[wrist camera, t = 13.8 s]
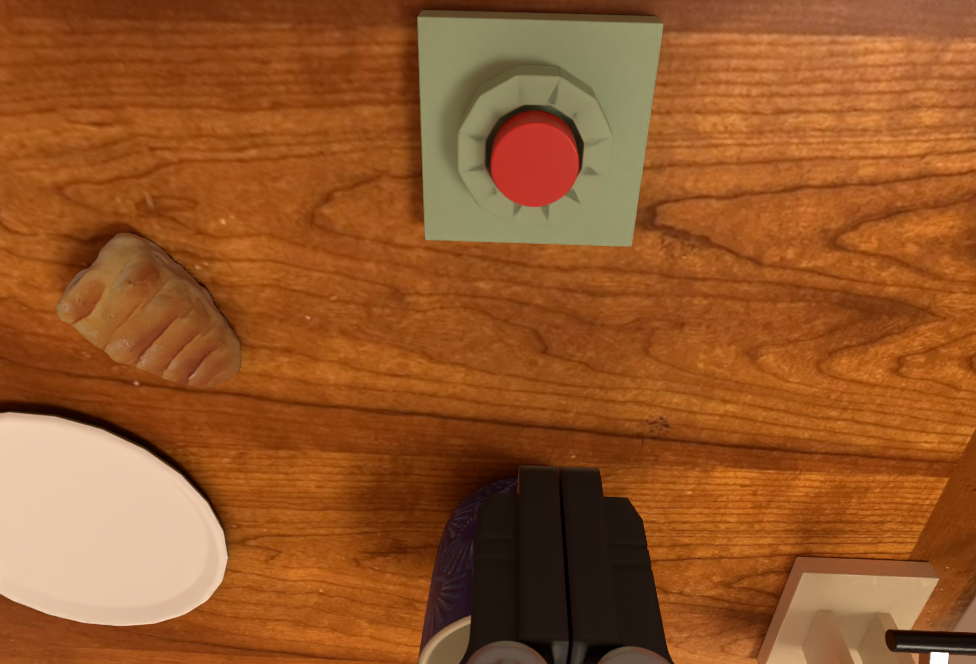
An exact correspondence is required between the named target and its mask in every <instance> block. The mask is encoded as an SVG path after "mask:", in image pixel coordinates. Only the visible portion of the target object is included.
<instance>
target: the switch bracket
mask: <svg viewBox="0 0 976 664" xmlns="http://www.w3.org/2000/svg"><path fill="white" fill-rule="evenodd" d="M938 581H939V577H938V575H937V573H936V572H935V570H934V568H933V567H932V565H931V563H930V562H916V561H892V560H868V559H844V558H821V557H796V559H795V562H794V564H793V567H792V570H791V572H790V575H789V577H788V580H787V582H786V585H785V587H784V590H783V593H782V595H781V598H780V600H779V603H778V605H777V608H776V610H775V613H774V616H773V618H772V621H771V623H770V626H769V628H768V631H767V633H766V636H765V638H764V641H763V644H762V646H761V649H760V651H759V654H758V656H757V662H758V664H916V663H915V661H914V659H913V657H912V655H911V653H901V652H892V651H890V650H889V649H888V647H887V645H886V642H885V632H886V631H887V630H888V629H901V630H911V628H912V626H913V624H914V623H915V621H916V619H917V617H918V616H919V614H920V612H921V610H922V609H923V607H924V605H925V603H926V602H927V600H928V598H929V597H930V595H931V593H932V591H933V590H934V588H935V586H936V584H937V583H938Z"/></svg>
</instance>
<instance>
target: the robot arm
mask: <svg viewBox="0 0 976 664" xmlns="http://www.w3.org/2000/svg"><path fill="white" fill-rule="evenodd" d="M459 664H674V663H673V661H672V659H671V657H670V655H669V652H668V648H667V645H666V640H665V634H664V629H663V624H662V619H661V614H660V608H659V603H658V598H657V593H656V588H655V582H654V577H653V572H652V570H651V561H650V556H649V551H648V550H647V541H646V535H645V530H644V525H643V520H642V518H641V517H640V516H639V514H638V513H637V511H636V510H635V508H634V507H633V506H632V504H631V503H630V501H629V500H628V498H622V497H603V490H602V483H601V476H600V471H599V468H585V467H560V468H559V473H558V469H557V467H555V466H530V465H519V469H518V485H517V493H494V492H490V494H489V495H488V497H487V499H486V500H485V502H484V504H483V505H482V507H481V509H480V510H479V512H478V515H477V531H476V546H475V563H474V577H473V592H472V608H471V623H470V637H469V644H468V647H467V650H466V652H465V654H464V656H463V658H462V660H461V661H460V663H459Z"/></svg>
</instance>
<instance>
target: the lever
mask: <svg viewBox="0 0 976 664" xmlns="http://www.w3.org/2000/svg"><path fill="white" fill-rule="evenodd" d="M885 642H886V645H887V647H888V649H889V650H890V651H892V652H901V653H919V664H948V662H949V655H968V656H976V633H969V632H946V631H923V630H901V629H888V630H887V631H886V632H885Z"/></svg>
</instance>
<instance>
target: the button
mask: <svg viewBox="0 0 976 664" xmlns="http://www.w3.org/2000/svg"><path fill="white" fill-rule="evenodd" d="M578 171H579V155H578V150H577V146H576V141H575V138H574V135H573V133H572V131H571V129H570V128H569V126H568V125H567V124H566V123H565V122H564V121H563V120H562V119H560V118H559V117H558V116H556V115H554V114H552V113H549V112H546V111H541V110H530V111H524V112H521V113H518V114H516V115H514V116H513V117H511V118H509V119H508V120H507V121H506V122H505V123H504V124H503V125H502V126H501V127H500V129H499V130H498V132H497V134H496V135H495V138H494V141H493V145H492V154H491V173H492V177H493V180H494V182H495V184H496V186H497V188H498V189H499V191H500V192H501V193H502V194H503V195H504V196H505V197H506V198H508V199H509V200H511V201H513V202H515V203H517V204H520V205H523V206H528V207H540V206H545V205H549V204H551V203H554V202H555V201H557V200H559V199H560V198H562V197H563V196H564V195H565V194H566V193H567V192H568V191H569V190H570V189H571V187H572V186H573V184H574V182H575V180H576V178H577V175H578Z"/></svg>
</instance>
